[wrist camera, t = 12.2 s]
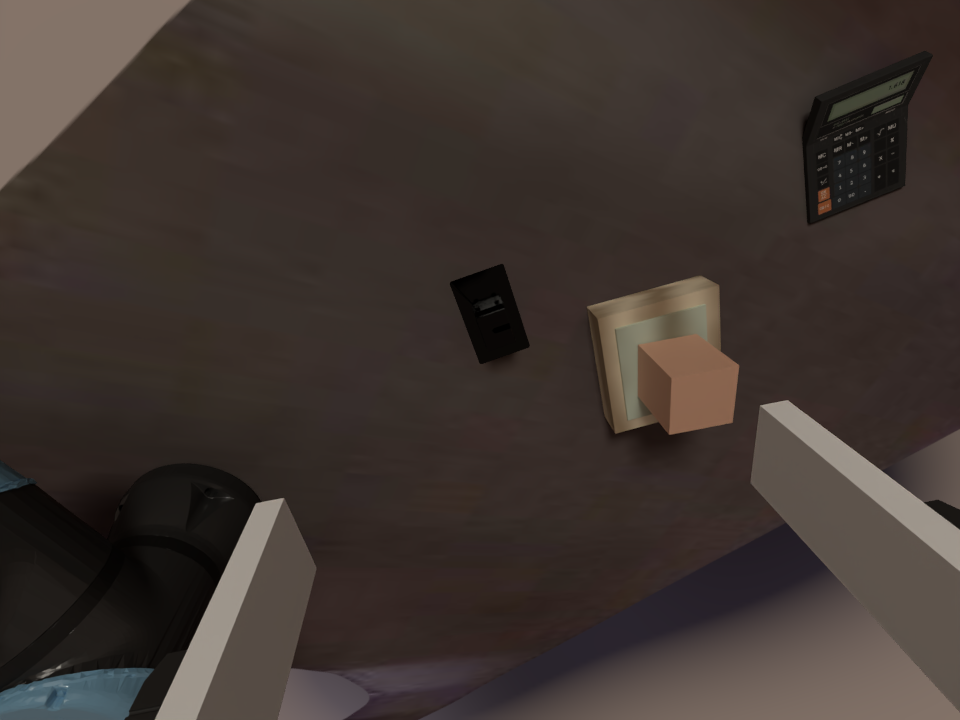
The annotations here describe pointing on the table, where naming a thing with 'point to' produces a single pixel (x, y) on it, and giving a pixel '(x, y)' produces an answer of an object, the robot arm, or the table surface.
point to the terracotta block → (687, 383)
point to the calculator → (859, 138)
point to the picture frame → (646, 339)
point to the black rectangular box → (490, 313)
